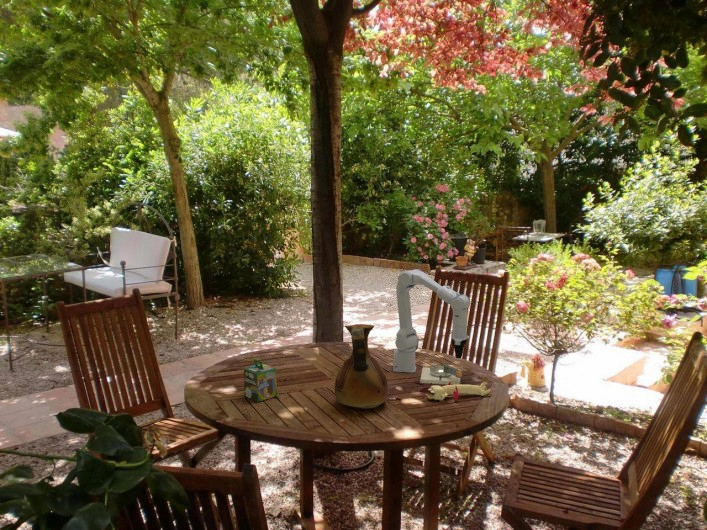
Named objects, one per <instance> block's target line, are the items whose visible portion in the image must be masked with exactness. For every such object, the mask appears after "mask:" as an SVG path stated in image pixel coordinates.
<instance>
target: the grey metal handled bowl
mask: <svg viewBox="0 0 707 530" xmlns="http://www.w3.org/2000/svg"><path fill="white" fill-rule="evenodd" d="M429 368H430V374H431V375H433V376H436V377H448V376H451V375H454V376H456V377H457V378H460V379H461V378H462V377H463V370H461V369H460V370H458V368H456V367H453V366H451V365H449V364H444V365H437V364H433V366H430V367H429Z"/></svg>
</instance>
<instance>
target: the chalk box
mask: <svg viewBox="0 0 707 530" xmlns="http://www.w3.org/2000/svg"><path fill="white" fill-rule="evenodd" d="M253 362H254V365H250V366H247V367H244V368H243V382H244V383H243V386H244V397H245V396H246V398H247V397H248V398H247V399H249V398H250V399H249V400H252V401H254V400H255V401H254V402H256V401H257V403H260V402H259V401H261V402H264V401H265V400H266V399H267V400H269V399H272V398H276V397H278V388H277V386H278V385H277V367H275V366H272V365H269V364H265V363H262V361H261V360H260V359H259V360H258V359H256V358H254V359H253ZM263 400H264V401H263ZM267 400H266V401H267Z"/></svg>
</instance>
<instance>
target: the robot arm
mask: <svg viewBox="0 0 707 530" xmlns="http://www.w3.org/2000/svg"><path fill="white" fill-rule="evenodd" d="M397 281H398V282H397V284H396V287H395V290H396V302H397V312H398V323H399V324H398V325H399V329H398V331H397V332H396V339H395V347H396V349H395V348H394V351H393V362H392V367H393V368H392V369H393V370H392V371H393V372H396V373H397V372H398V373H416V370H417V366H416V351H415V349H416V346H417V345H418V346H419V343H420V338H419V336H418V335H417V330H416V329H415V328H414V327H413V319H412V309H411V308H412V307H411V298H410V297H411V296H410V291H411V290H412V289H413V288H414V287H415V286H418V285H419V286H421V285H422V286H424V287H425V288H427V289H429V290H431V291H432V292H434V293H436V294H437V298H439V299H440V300H441V301H444V303H447V304H448V305H449V306H450V308H451V309H452V335H451V338H452V341H451V343H452V347H453V349H454V355H455V359H462V357H463V354H464V349H465V346H466V344H467V340H468V339H469V340H470V337H471V336H470V335H468V308H469V307H470V306H471V299H470V297H469V296H468V295H466V294H461V293H460V292H457V291H455V290H454V289H452V287H451V286H450V285H443V286H442V285H440V284H439V283H438V282H436V281H435V280H434V279H432V278H431V277H430V276H428V275H427V274H426V273H425V272H424V271H422V270H420V269H418V268H414V269H412V270H404V271H402V272H401V273H399V275H398V276H397ZM418 338H419V339H418Z"/></svg>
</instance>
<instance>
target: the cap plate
mask: <svg viewBox="0 0 707 530" xmlns="http://www.w3.org/2000/svg"><path fill="white" fill-rule="evenodd" d="M430 368H431V367H425V366H423V367H422V370H421V375H420V381H419V382H420V384H431V383H432V384H433V385H434V384H435V385H447V384H448V383H449V382H452V383H451V384H450V385H461V378H457V377H456V376H454V375H451V376H448V377H436V376H433V375H431V374H430ZM457 369H458V368H457ZM458 370H461V369H458Z"/></svg>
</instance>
